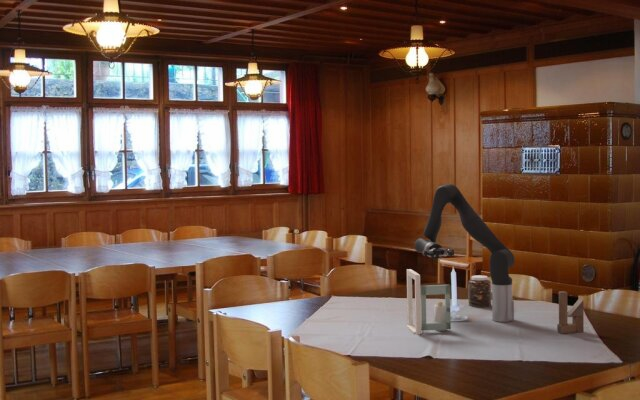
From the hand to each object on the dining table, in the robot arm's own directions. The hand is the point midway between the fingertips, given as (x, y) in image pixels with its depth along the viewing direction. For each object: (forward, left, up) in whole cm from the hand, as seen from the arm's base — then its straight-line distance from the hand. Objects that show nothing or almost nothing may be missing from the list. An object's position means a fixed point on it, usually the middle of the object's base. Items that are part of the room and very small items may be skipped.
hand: (442, 254), depth 366 cm
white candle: (+5, +15, -32) cm, 36 cm away
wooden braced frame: (-48, +32, -32) cm, 66 cm away
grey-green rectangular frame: (+9, +20, -31) cm, 38 cm away
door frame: (+17, +13, -32) cm, 39 cm away
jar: (-29, -35, -32) cm, 56 cm away
